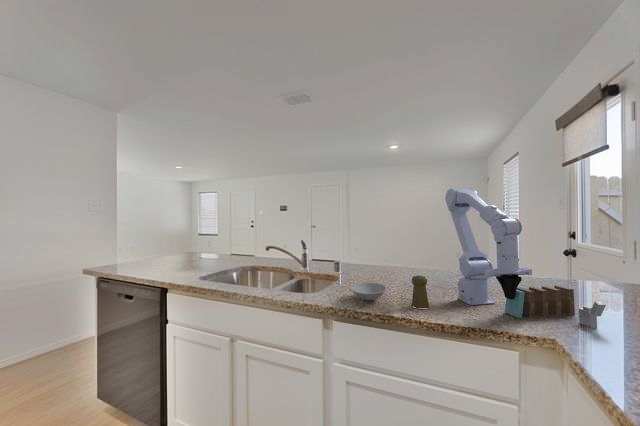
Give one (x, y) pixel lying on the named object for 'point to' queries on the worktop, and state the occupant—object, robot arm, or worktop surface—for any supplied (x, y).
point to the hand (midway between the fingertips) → (509, 298)
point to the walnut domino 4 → (566, 299)
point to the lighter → (591, 314)
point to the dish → (368, 290)
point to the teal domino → (515, 304)
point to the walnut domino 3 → (553, 300)
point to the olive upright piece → (419, 292)
